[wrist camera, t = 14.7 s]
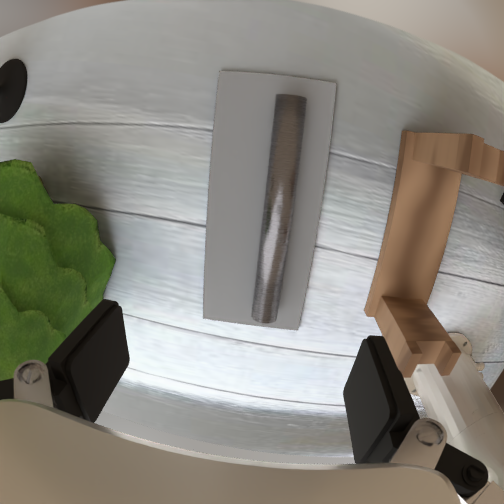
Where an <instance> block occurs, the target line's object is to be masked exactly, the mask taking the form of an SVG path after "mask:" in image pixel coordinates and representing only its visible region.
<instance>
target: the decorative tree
mask: <svg viewBox="0 0 504 504" xmlns="http://www.w3.org/2000/svg"><path fill="white" fill-rule="evenodd" d="M115 261H116V259H115V258H114V256H113V255H112V253H111V252H110V250H109V249H108V248H107V247H106V246H105V245H104V244H103V243H102V242H101V241H100V236H99V230H98V223H97V220H96V219H95V218H94V216H93V215H92V214H91V213H90V212H89V211H88V210H87V209H86V208H83V207H81V206H79V205H76V204H54V203H53V202H52V200H51V198H50V197H49V195H48V193H47V192H46V190H45V188H44V186H43V183H42V180H41V178H40V177H39V176H38V175H37V173H36V171H35V169H34V167H33V164H32V162H27V161H22V160H16V159H14V160H9V161H4V162H0V381H2V380H7V379H11V378H14V371H15V370H16V368H17V367H18V366H19V365H20V364H21V363H23V362H25V361H28V360H39V361H41V362H43V363H44V364H46V363H47V362H48V358H49V357H50V356H51V354H52V353H53V352H54V351H55V350H56V349H57V348H58V347H59V345H60V344H61V343H62V342H63V341H64V340H65V339H66V338H67V337H68V336H69V334H70V333H71V332H72V331H73V330H74V329H75V328H76V327H77V326H78V325H79V324H80V323H81V322H82V320H83V319H84V318H85V317H86V316H87V315H88V314H89V313H90V312H91V311H92V310H93V309H94V308H95V307H96V306H97V305H98V304H99V303H100V302H101V301H102V300H103V292H104V290H105V288H106V285H107V283H108V281H109V278H110V276H111V273H112V270H113V267H114V264H115Z"/></svg>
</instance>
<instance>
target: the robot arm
mask: <svg viewBox="0 0 504 504" xmlns="http://www.w3.org/2000/svg"><path fill="white" fill-rule="evenodd" d="M448 335H449V336H450V337H451V339H452V340H453V341H454V342H455V344H456V345H457V347H458V348H459V349H460V351H461V352H462V353H461V355H460V357H459V359H458V361H457V363H456V364H455V366H454V368H453V370H452V372H451V373H450V375H448V376H440V374H439V372H438V370H437V368H436V367H435V365H434V364H417V366H416V368H415V370H414V372H413V374H412V376H411V378H403V375H402V373H401V371H400V370H398V367H397V365H396V363H395V360H394V358H393V356H392V354H391V351H390V349H389V347H388V344H387V342H386V340H385V338H384V337H383V336H372V335H370V336H368V337H367V339H363V341H362V343H361V346H360V349H359V352H358V354H357V357H356V360H355V362H354V365H353V367H352V370H351V372H350V375H349V377H348V380H347V382H346V385H345V387H344V392H343V396H344V402H345V407H346V413H347V418H348V424H349V429H350V435H351V441H352V447H353V454H354V460H355V463H356V464H293V463H276V462H265V461H255V460H246V459H238V458H230V457H224V456H217V455H212V454H205V453H200V452H195V451H190V450H186V449H181V448H177V447H172V446H168V445H164V444H159V443H156V442H152V441H149V440H145V439H141V438H138V437H135V436H131V435H128V434H125V433H122V432H118V431H115V430H112V429H109V428H106V427H104V426H101V425H98V424H95V423H94V422H95V421H96V420H97V418H98V416H99V414H100V413H101V411H102V409H103V407H104V406H105V404H106V402H107V400H108V399H109V397H110V395H111V394H112V392H113V390H114V388H115V387H116V385H117V383H118V382H119V380H120V378H121V377H122V375H123V373H124V372H125V370H126V368H127V367H128V365H129V360H130V357H129V351H128V346H127V340H126V333H125V327H124V320H123V313H122V308H121V306H119V305H118V303H117V302H116V301H112V300H107V299H103V300H102V301H101V302H100V303H99V304H98V305H97V306H96V307H95V308H94V309H93V310H92V311H91V312H90V313H89V314H88V315H87V316H86V317H85V318H84V319H83V320H82V322H81V323H80V324H79V325H78V326H77V327H76V328H75V329H74V330H73V331H72V332H71V333H70V334H69V336H68V337H67V338H66V339H65V340H64V341H63V342H62V343H61V344H60V345H59V347H58V348H57V349H56V350H55V351H54V352H53V353H52V354H51V356H50V357H49V358H48V362H47V363H46V364H44V363H43V362H41V361H39V360H28V361H25V362H23V363H21V364H20V365H19V366H18V367H17V368H16V370H15V371H14V378H11V379H7V380H2V381H0V504H504V413H503V411H502V410H501V408H500V406H499V404H498V403H497V401H496V399H495V398H494V396H493V394H492V393H491V391H490V390H489V388H488V386H487V385H486V383H485V382H484V380H483V374H482V372H478V371H482V370H483V369H484V363H475V362H474V360H473V359H472V357H471V355H472V346H471V343H470V342H469V340H468V339H467V338H466V336H464V335H462V334H460V333H448ZM410 394H413V395H416V396H419V397H420V399H421V401H422V404H423V406H424V408H425V411H426V413H427V416H428V418H422V419H420V418H419V415H418V412H417V410H416V407H415V405H414V402H413V400H412V397H411V395H410Z"/></svg>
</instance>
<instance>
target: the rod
mask: <svg viewBox="0 0 504 504" xmlns="http://www.w3.org/2000/svg"><path fill="white" fill-rule="evenodd" d="M306 104H307V98H305V97H302V96H298V95H292V94H276V99H275V108H274V118H273V127H272V136H271V146H270V155H269V164H268V173H267V182H266V191H265V200H264V209H263V218H262V226H261V235H260V244H259V253H258V261H257V270H256V279H255V287H254V296H253V304H252V313H251V317H252V318H253V319H254V320H255V321H257V322H259V323H264V324H269V323H273V322H275V321H276V320H277V315H278V309H279V303H280V297H281V291H282V285H283V278H284V272H285V265H286V259H287V252H288V246H289V239H290V232H291V225H292V218H293V211H294V203H295V196H296V189H297V181H298V173H299V165H300V157H301V149H302V140H303V132H304V123H305V114H306Z"/></svg>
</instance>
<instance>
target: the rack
mask: <svg viewBox="0 0 504 504" xmlns="http://www.w3.org/2000/svg"><path fill="white" fill-rule="evenodd" d="M461 174H465V175H468V176H472V177H475V178H479V179H482V180H485V181H489V182H492V183H495V184H498V185H501V186H504V151H501V150H498V149H496V148H494V147H492V146H489V145H487V144H485V143H484V139H483V138H481V137H479V136H476V135H474V134H460V133H459V134H453V133H414V132H411V131H402V135H401V143H400V150H399V158H398V164H397V171H396V177H395V183H394V189H393V194H392V200H391V205H390V210H389V215H388V220H387V224H386V229H385V233H384V238H383V242H382V246H381V251H380V255H379V259H378V263H377V266H376V270H375V274H374V278H373V281H372V285H371V289H370V292H369V295H368V299H367V302H366V306H365V309H364V311H365V313H366V315H367V316H368V317H374V318H375V320H376V322H377V324H378V326H379V328H380V330H381V333H382V335H383V337H384V338H385V340H386V342H387V344H388V347H389V349H390V351H391V354H392V356H393V358H394V360H395V363H396V365H397V367H398V370H400V371H401V373H402V375H403V378H411V376H412V374H413V372H414V370H415V368H416V366H417V364H434V365H435V367H436V368H437V370H438V372H439V374H440V376H448V375H450V373H451V372H452V370H453V368H454V366H455V364H456V363H457V361H458V359H459V357H460V355H461V353H462V352H461V351H460V349H459V348H458V347H457V345H456V344H455V342H454V341H453V340H452V339H451V337H450V336H449V335H448V333H447V332H446V330H445V329H444V328H443V326H442V325H441V324H440V322H439V321H438V319H437V318H436V317H435V315H434V314H433V313H432V311H431V310H430V309H429V307H428V306H427V303H428V300H429V297H430V294H431V291H432V288H433V286H434V283H435V280H436V277H437V273H438V270H439V267H440V264H441V260H442V257H443V254H444V250H445V247H446V243H447V239H448V235H449V232H450V228H451V223H452V219H453V215H454V210H455V206H456V201H457V196H458V191H459V186H460V180H461Z"/></svg>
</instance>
